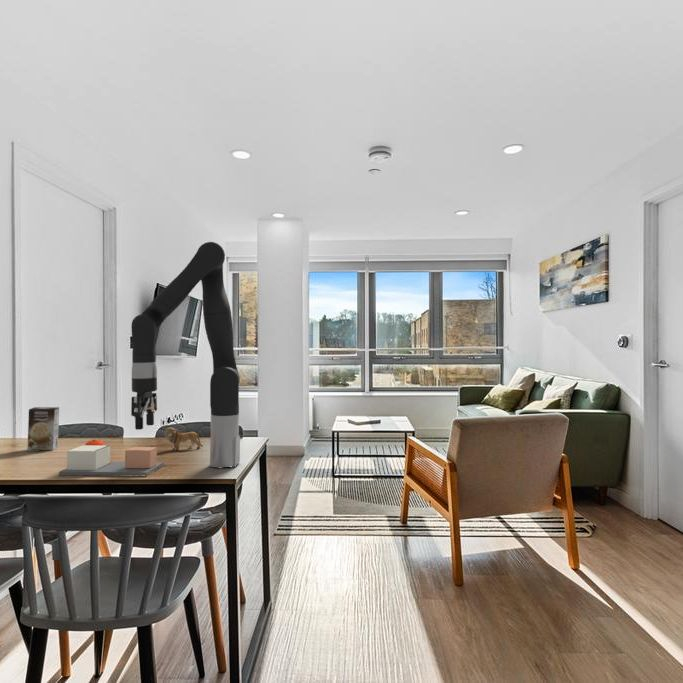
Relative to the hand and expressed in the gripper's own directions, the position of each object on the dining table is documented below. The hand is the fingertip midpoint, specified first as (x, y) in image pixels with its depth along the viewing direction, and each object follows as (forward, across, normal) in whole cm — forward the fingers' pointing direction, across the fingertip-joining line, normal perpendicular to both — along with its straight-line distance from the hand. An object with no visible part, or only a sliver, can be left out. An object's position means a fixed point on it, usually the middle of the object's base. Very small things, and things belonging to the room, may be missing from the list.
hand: (144, 427), depth 153 cm
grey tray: (+14, 0, +10) cm, 17 cm away
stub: (+12, 0, +1) cm, 13 cm away
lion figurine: (+14, +34, -1) cm, 37 cm away
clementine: (+14, +16, +25) cm, 32 cm away
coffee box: (+13, +32, +52) cm, 62 cm away
